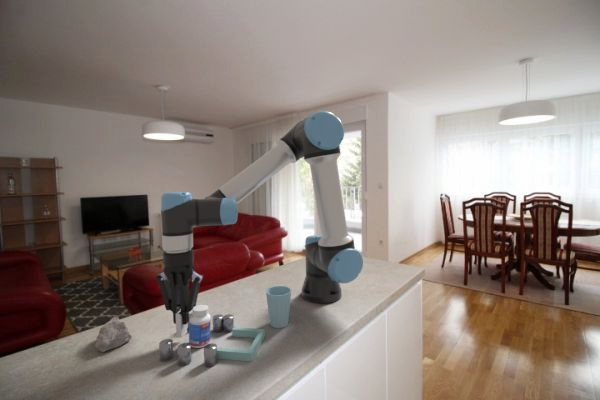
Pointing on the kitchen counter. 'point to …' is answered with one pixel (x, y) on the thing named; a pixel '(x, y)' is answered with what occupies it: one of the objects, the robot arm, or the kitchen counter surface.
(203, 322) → the pill bottle
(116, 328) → the stone
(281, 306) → the cup
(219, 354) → the teal bay
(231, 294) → the kitchen counter surface
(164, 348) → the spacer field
